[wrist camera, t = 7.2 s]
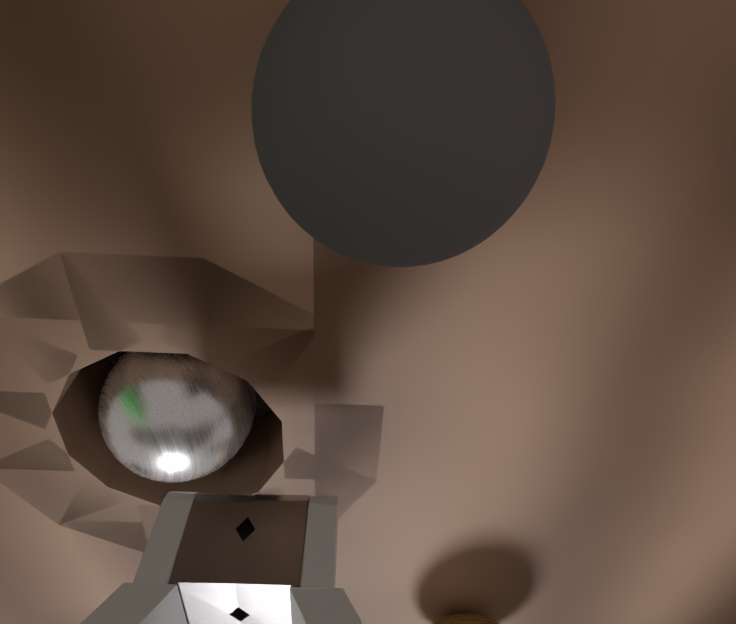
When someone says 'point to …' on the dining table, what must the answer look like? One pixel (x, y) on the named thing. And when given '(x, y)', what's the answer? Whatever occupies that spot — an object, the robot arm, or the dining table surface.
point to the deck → (380, 324)
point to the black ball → (403, 122)
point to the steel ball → (173, 415)
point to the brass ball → (466, 619)
